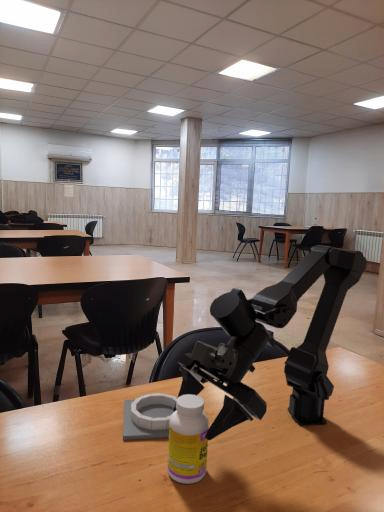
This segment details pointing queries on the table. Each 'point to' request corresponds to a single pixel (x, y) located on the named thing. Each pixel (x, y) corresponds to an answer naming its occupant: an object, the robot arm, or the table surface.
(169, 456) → the supplement bottle
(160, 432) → the socket plate
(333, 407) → the table surface
